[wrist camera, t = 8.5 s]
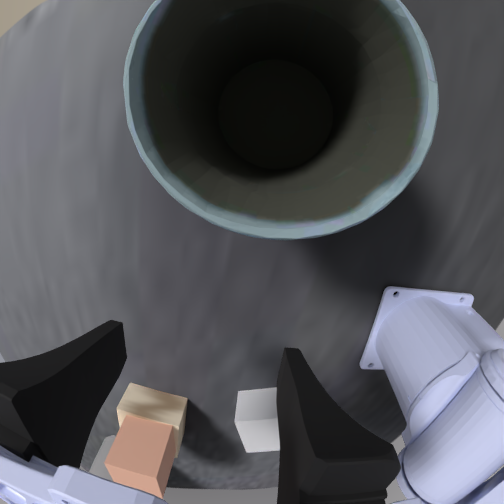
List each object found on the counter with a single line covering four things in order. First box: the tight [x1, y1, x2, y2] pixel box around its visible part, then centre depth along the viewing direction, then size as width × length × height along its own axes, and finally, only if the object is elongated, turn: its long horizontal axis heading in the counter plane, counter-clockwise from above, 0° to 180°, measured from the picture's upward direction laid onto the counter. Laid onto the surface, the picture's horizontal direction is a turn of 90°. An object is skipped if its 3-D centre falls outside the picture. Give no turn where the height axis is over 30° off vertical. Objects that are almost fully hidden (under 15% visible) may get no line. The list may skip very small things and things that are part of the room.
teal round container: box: [123, 0, 439, 240], centre depth 13 cm, size 10×10×12 cm
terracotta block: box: [104, 415, 176, 499], centre depth 22 cm, size 4×4×6 cm
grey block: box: [235, 387, 280, 453], centre depth 25 cm, size 5×5×4 cm
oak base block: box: [117, 383, 188, 458], centre depth 27 cm, size 6×6×4 cm
